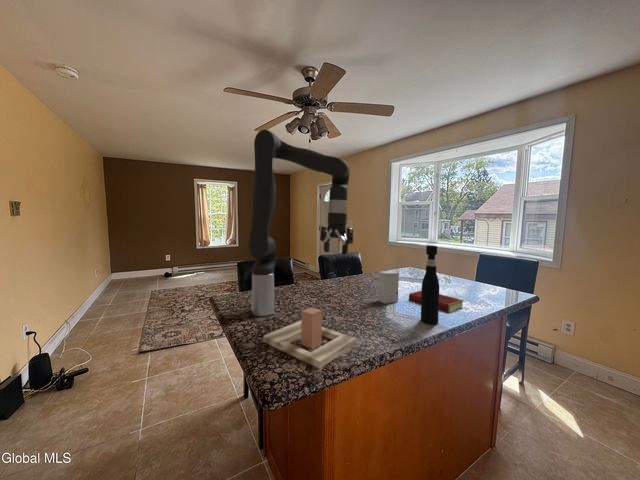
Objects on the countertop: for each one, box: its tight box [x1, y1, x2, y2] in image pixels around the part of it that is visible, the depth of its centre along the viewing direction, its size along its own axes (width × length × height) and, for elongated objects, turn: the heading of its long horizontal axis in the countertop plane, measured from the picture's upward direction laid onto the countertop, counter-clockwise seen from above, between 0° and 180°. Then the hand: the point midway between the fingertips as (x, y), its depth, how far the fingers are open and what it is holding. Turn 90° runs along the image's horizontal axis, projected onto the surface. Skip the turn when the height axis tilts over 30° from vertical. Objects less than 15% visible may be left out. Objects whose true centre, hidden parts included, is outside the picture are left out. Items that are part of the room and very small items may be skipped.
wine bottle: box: [420, 245, 440, 326], centre depth 101 cm, size 6×6×30 cm
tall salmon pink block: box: [300, 307, 323, 350], centre depth 83 cm, size 5×5×11 cm
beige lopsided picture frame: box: [263, 320, 357, 370], centre depth 83 cm, size 24×18×2 cm
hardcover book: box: [408, 290, 465, 313], centre depth 124 cm, size 12×21×4 cm, turn 33°
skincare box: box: [377, 270, 400, 305], centre depth 127 cm, size 8×6×15 cm
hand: (335, 253), depth 102 cm, fingers open, 8 cm apart
